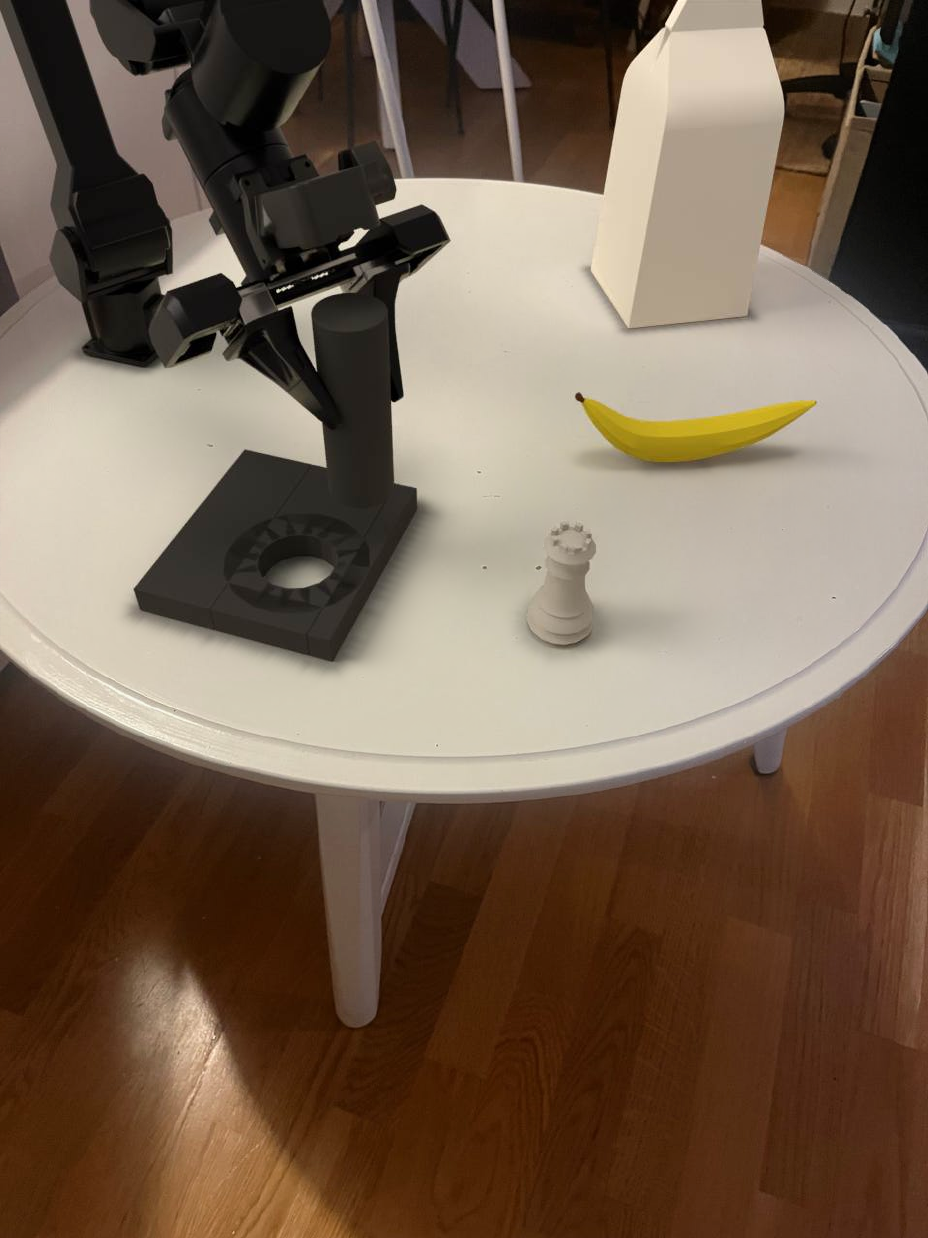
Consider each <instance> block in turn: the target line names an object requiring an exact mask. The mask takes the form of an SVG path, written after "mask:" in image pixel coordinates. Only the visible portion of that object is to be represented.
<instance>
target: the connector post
mask: <svg viewBox="0 0 928 1238" xmlns="http://www.w3.org/2000/svg"><path fill="white" fill-rule="evenodd" d="M310 313H311V314H310V317H311V325H312V326H311V327H312V336H313V337H312V339H313V346H314V357H315V365H316V366H315V367H316V368H315V369H316V371H317V373H318V375H319V377H320V378H321V380H322V382H323V384H324V386H325V387H326V389H327V391H328V393H329V395H330V396H331V398H332V400H333V402H334V405H335V407H336V410H337V412H338V415H339V417H340V419H341V422H342V425H341V426H340V427H339V428H337V429H335V430H330V429H329V428H328V427H327V426H326V425H324V424H323V423H322V422H321V425H322V435H323V446H324V447H323V448H324V455H325V465H326V466H325V467H326V468H327V477H328V487H329V492H330V495H331V496H332V498H333V499H334V500H335V501H336V502H338V503H340V504H341V505H344V506H347V507H351V508H370V507H374V506H377V505H380V504H382V503H383V502H385V501H386V500H387V499H389V498H390V496H391V495H392V493H393V491H394V483H395V468H394V467H395V464H394V440H393V439H394V438H393V436H394V435H393V415H392V413H393V412H392V410H393V409H392V401H391V382H390V356H389V329H388V310H387V307H386V305H385V304H384V303H383V302H382V301H381V300H379V299H378V298H375V297H373V296H370V295H367V294H362V293H343V292H341V293H335V294H331V295H329V296H326V297H324V298H322V299H320V300H318V301H317V302H315V304H314V305H313V307H312V308H311V312H310Z"/></svg>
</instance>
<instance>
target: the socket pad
mask: <svg viewBox="0 0 928 1238" xmlns="http://www.w3.org/2000/svg"><path fill="white" fill-rule="evenodd" d="M417 510H418V488H417V487H413V486H409V485H405V484H400V483H396V482H394V491H393V493H392V495H391V496H390V498H389V499H387V500H386V501H385V502H383V503H382V504H380V505H377V506H374V507H370V508H351V507H347V506H344V505H341V504H340V503H338V502H336V501H335V500H334V499H333V498H332V496H331V495H330V492H329V487H328V477H327V467H326V466H321V465H316V464H312V463H307V462H303V461H298V460H294V459H291V458H286V457H281V456H278V455H272V454H267V453H263V452H259V451H256V450H255V451H254V450H250V449H243V451H242V452H241V453H240V455H239V456H238V457H237V458H236V460H235V461H234V462H233V463H232V464H231V465H230V467H229V468H228V469H227V471H226V472H224V474H223V476H222V477H221V478H220V480H219V481H218V482H217V483H216V484H215V486H214V487H213V488H212V490H211V491H210V492H209V493H208V495H207V496H206V497H205V499H204V500H203V501H202V502H201V503H200V504H199V506H198V507H197V508H196V510H195V511H194V512H193V513H192V515H191V516H190V517H189V518H188V520H187V521H186V522H185V524H184V525H183V526H182V527H181V529H180V530H179V531H178V532H177V534H176V535H175V536H174V537H173V539H172V540H171V541H170V542H169V544H168V545H167V546H166V547H165V549H164V550H163V551H162V553H161V554H160V555H159V556H158V557H157V558H156V560H155V561H154V563H152V565H151V566H150V568H149V569H148V570H147V571H146V573H145V574H144V575H143V576H142V578H140V580H139V581H138V583H136V585H135V586H134V587H133V592H134V596H135V598H136V601H137V604H138V607H139V610H141V611H142V612H143V611H144V612H147V613H150V614H153V615H158V616H162V617H165V618H169V619H173V620H177V621H181V622H184V623H188V624H192V625H195V626H198V627H202V628H206V629H211V630H215V631H218V632H221V633H225V634H229V635H233V636H236V637H240V638H244V639H248V640H251V641H256V642H259V643H263V644H266V645H270V646H274V647H278V648H282V649H285V650H289V651H292V652H295V653H300V654H303V655H308V656H312V657H314V658H315V657H316V658H319V659H323V660H327V661H331V662H333V661H334V659H335V658H336V655H337V654H338V652H339V650H340V648H341V647H342V645H343V643H344V641H345V639H346V638H347V635H348V634H349V632H350V630H351V628H352V627H353V625H354V623H355V621H356V619H357V618H358V616H359V614H360V612H361V610H362V609H363V607H364V605H365V603H366V602H367V600H368V598H369V597H370V594H371V593H372V591H373V589H374V588H375V585H376V583H377V582H378V580H379V578H380V576H381V574H382V573H383V571H384V569H385V567H386V566H387V564H388V562H389V560H390V559H391V557H392V555H393V553H394V551H395V549H396V547H397V546H398V545H399V542H400V540H401V539H402V537H403V535H404V533H405V531H406V530H407V528H408V526H409V524H410V522H411V521H412V519H413V517H414V515H415V513H416V511H417ZM301 556H303V557H304V556H310V557H313V558H318V559H320V560H321V559H322V560H324V561H325V562H327V563H328V564H330V565H331V566H332V567H333V570H332V571H331V573H330V574H329V575H328V576H326V577H325V578H324V579H322V580H321V581H320V582H317V583H314V584H311V585H308V586H305V587H290V588H289V587H284V586H280V585H276V584H273V583H271V581H268V580H267V579H266V578H264V576H265V575H266V573H267V572H268V571H269V569H270V568H272V567H273V566H275V565H276V564H278V563H279V562H280V561H283V560H286V559H289V558H292V557H301Z"/></svg>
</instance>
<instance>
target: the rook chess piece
mask: <svg viewBox="0 0 928 1238" xmlns="http://www.w3.org/2000/svg"><path fill="white" fill-rule="evenodd" d="M592 535H593V533H592V531H591V530H590V528H587V529H585V530H584V524H583V523H580V522H578V521H575V524H574V526H570V523H569V520H567V521H560V525H559V526H557V525H554V526H553V528H552V529H551V530H550V533H548V535H547V536H546V537H545V539H544V540H543V549H544V551H545V553H546V556H547V557H546V558H545V564H544V565H545V567H546V570H547V572H546V575H545V578H544V582H543V584H542V585H541V586H540V588H539V589H538V590H537V591H536V592H535V593H534V595H533V596H532V597H531V599H530V601H529V606H528V610H527V616H526V622H527V624H528V627H529V628H530V630H531V631H532V632H533V633H534V634H535V635H536V636H537V637H538V638H540V640H542V641H544V642H545V643H549V644H551V645H557V646H566V645H567V646H568V645H573V644H575V643H578V642H579V641H581V640H582V639H585V638H586V637H588V636H589V634H590V633H591V632H592V630H593V628H594V614H595V613H594V612H595V608H594V604H593V602H592V599H591V598H590V596H589V594H588V592H587V590H586V575H587V574H588V573H589V571H590V569H591V568H590V567H591V562H590V560H592V559H593V558H594V556H595V555H596V553H597V544H596V542H595V540H594V539H593V537H592Z"/></svg>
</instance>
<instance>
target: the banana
mask: <svg viewBox="0 0 928 1238" xmlns="http://www.w3.org/2000/svg"><path fill="white" fill-rule="evenodd" d="M574 398H575V400H576V401H577V402H579V403H580V404H581V406H582V408H583V411H584V413H585V414H586V416H587V417H588V419H589V421H590V422H591V424H592V425H593V426H594V427H595V428H596V429H597V431H598V432H599V433H600V434H601V435H602V437H604V439H605V440H606V441H607V442H608V443H610V444H611V445H612V446H613V447H614V448H616V449H617V450H619V451H620V452H621V453H623V454H625V455H627V456H629V457H633V458H635V459H637V460H640V461H641V460H642V461H647V462H652V463H679V462H680V463H681V462H689V461H690V462H691V461H696V460H702V459H707V458H712V457H715V456H719V455H723V454H727V453H732V452H734V451H737V450H741V449H743V448H746V447H749V446H752V445H755V444H756V443H758V442H759V443H760V442H761V441H762V440H765V439H767V438H769V437H771V436H772V435H774V434H776V433H778V432H779V431H780V430H781V431H782V429H784V428H785V427H787V426H788V425H790V424H791V423H794V421H796V420H798V418H800V417H801V416H803V415H804V414H805V413H807V412H808V411H809V410H811V409H812V408H813V407H815V406H816V404H817V400H814V399H812V400H804V399H803V400H795V401H789V402H782V403H776V404H772V405H771V404H770V405H767V406H762V407H761V406H760V407H757V408H752V409H747V410H743V411H742V410H741V411H738V412H733V413H727V414H721V415H714V416H708V417H706V416H705V417H699V418H691V419H679V420H678V419H677V420H645V419H637V418H632V417H629V416H627V415H624V414H621V413H620V412H618V411H616V410H614V409H613V408H611V407H609V406H607V405H606V404H605V403H602V402H600V401H597V400H596V399H592V398H586V397H584V396H583V394H582V393H581V392H579V391H578V392H576V393H575V395H574Z"/></svg>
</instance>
